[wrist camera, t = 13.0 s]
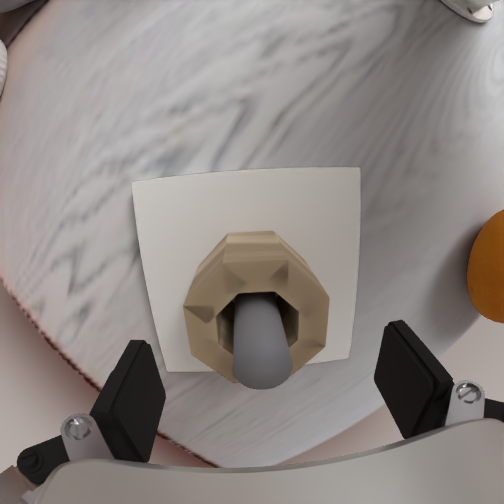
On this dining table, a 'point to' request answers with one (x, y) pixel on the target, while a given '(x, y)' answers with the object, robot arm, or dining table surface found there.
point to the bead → (247, 281)
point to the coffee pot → (12, 4)
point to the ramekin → (3, 65)
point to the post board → (249, 220)
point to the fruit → (488, 269)
